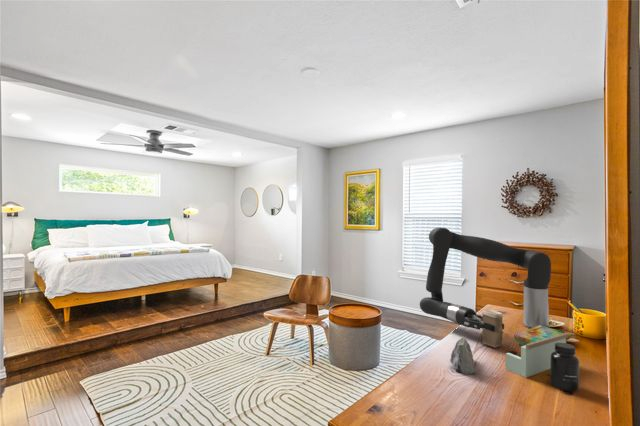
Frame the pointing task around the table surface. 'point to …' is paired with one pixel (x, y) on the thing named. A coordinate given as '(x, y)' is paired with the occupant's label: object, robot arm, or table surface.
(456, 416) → the table surface
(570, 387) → the supplement bottle
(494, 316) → the brown wooden block
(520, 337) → the puzzle game
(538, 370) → the mint green shelf
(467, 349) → the mineral rock
